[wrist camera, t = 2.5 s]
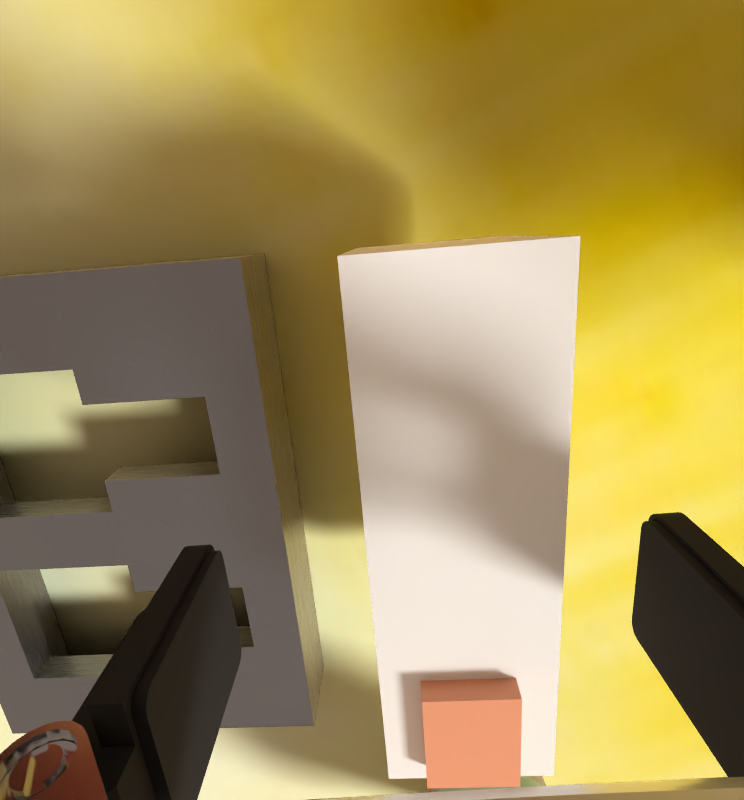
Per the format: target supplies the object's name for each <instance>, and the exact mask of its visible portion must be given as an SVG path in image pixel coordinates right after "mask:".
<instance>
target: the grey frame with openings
mask: <svg viewBox="0 0 744 800" xmlns="http://www.w3.org/2000/svg"><path fill="white" fill-rule="evenodd" d="M69 369H73V372H74V376H75V379H76V383H77V386H78V390H79V393H80V397H81V400H82V404H83V405H88V404H103V403H118V402H133V401H148V400H163V399H178V398H193V397H205V401H206V406H207V411H208V416H209V421H210V426H211V431H212V436H213V441H214V446H215V451H216V457H217V461H209V462H192V463H175V464H158V465H141V466H124V467H120V468H119V469H118V470H116V471H115V472H114V473H113V474H112V475H111V476H109V477H108V478H107V479H106V480H105V481H104V483H105V486H106V490H107V493H108V497H99V498H81V499H63V500H45V501H27V502H16V501H15V498H14V495H13V492H12V489H11V486H10V484H9V481H8V478H7V475H6V472H5V469H4V466H3V463H2V461H1V458H0V704H1V706H2V709H3V711H4V714H5V716H6V718H7V721H8V723H9V725H10V728H11V730H12V733H28V732H30V731H32V730H34V729H36V728H39V727H41V726H43V725H45V724H49V723H53V722H57V721H72V719H73V718H74V716H75V715H76V713H77V711H78V710H79V708H80V707H81V705H82V703H83V702H84V700H85V699H86V697H87V695H88V694H89V692H90V691H91V689H92V688H93V686H94V684H95V683H96V681H97V680H98V678H99V676H100V675H101V673H102V672H103V670H104V668H105V667H106V665H107V664H108V662H109V660H110V659H111V657H112V656H113V654H103V655H75V656H69V653H68V650H67V647H66V644H65V642H64V639H63V636H62V633H61V630H60V627H59V624H58V621H57V619H56V616H55V613H54V610H53V607H52V604H51V601H50V598H49V596H48V593H47V590H46V587H45V584H44V581H43V578H42V576H41V573H40V570H39V569H52V568H73V567H95V566H116V565H128V568H129V572H130V575H131V579H132V582H133V586H134V590H135V592H149V591H157V590H158V588H159V587H160V585H161V583H162V582H163V580H164V579H165V577H166V575H167V574H168V572H169V570H170V569H171V567H172V566H173V564H174V562H175V561H176V559H177V557H178V556H179V554H180V553H181V551H182V549H183V548H184V547H186V546H195V545H209V544H210V545H212V546H213V547H214V550H215V551H218V550H220V551H221V552H222V555H223V559H224V564H225V569H226V573H227V578H228V583H229V588H241V587H242V589H243V594H244V599H245V604H246V609H247V614H248V619H249V624H250V626H237V627H238V632H239V637H240V642H241V661H240V665H239V668H238V671H237V674H236V677H235V681H234V684H233V687H232V690H231V693H230V696H229V700H228V703H227V706H226V709H225V712H224V716H223V719H222V722H221V725H220V728H239V727H277V726H314V723H315V717H316V710H317V704H318V697H319V691H320V685H321V678H322V672H323V659H322V652H321V645H320V638H319V631H318V624H317V617H316V610H315V603H314V596H313V589H312V582H311V575H310V568H309V561H308V555H307V548H306V541H305V534H304V527H303V520H302V513H301V506H300V499H299V492H298V485H297V478H296V471H295V464H294V457H293V450H292V443H291V436H290V429H289V422H288V415H287V408H286V401H285V394H284V387H283V380H282V373H281V366H280V359H279V352H278V345H277V338H276V331H275V324H274V317H273V310H272V303H271V296H270V289H269V282H268V275H267V268H266V261H265V254H255V255H243V256H231V257H220V258H208V259H196V260H184V261H172V262H160V263H148V264H136V265H124V266H112V267H100V268H88V269H77V270H65V271H53V272H41V273H29V274H17V275H5V276H0V374H13V373H27V372H41V371H55V370H69Z"/></svg>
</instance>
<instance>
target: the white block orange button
mask: <svg viewBox="0 0 744 800" xmlns="http://www.w3.org/2000/svg"><path fill="white" fill-rule="evenodd" d="M579 256H580V236H523V235H506V236H494V237H482V238H470V239H458V240H446V241H434V242H422V243H410V244H398V245H386V246H374V247H362V248H356V249H353V250H351V251H348V252H346V253H344V254H341V255H339V256H337V259H338V269H339V279H340V290H341V300H342V310H343V320H344V330H345V340H346V350H347V360H348V371H349V381H350V391H351V401H352V411H353V421H354V431H355V441H356V452H357V462H358V472H359V482H360V492H361V502H362V512H363V522H364V533H365V543H366V553H367V563H368V573H369V583H370V593H371V603H372V614H373V624H374V634H375V644H376V654H377V664H378V674H379V684H380V694H381V705H382V715H383V725H384V735H385V745H386V755H387V765H388V775H389V779H407V778H427V789H428V788H481V787H520V779H521V776H554V759H555V739H556V718H557V698H558V678H559V658H560V638H561V618H562V598H563V578H564V557H565V537H566V517H567V497H568V477H569V457H570V437H571V417H572V396H573V376H574V356H575V336H576V316H577V296H578V276H579Z"/></svg>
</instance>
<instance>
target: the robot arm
mask: <svg viewBox="0 0 744 800" xmlns="http://www.w3.org/2000/svg"><path fill="white" fill-rule="evenodd" d="M632 626H633V630H634V633H635V636H636V638H637V639H638V641H639V643H640V644H641V646H642V647H643V649H644V650H645V652H646V653H647V655H648V656H649V658H650V659H651V661H652V662H653V664H654V665H655V667H656V668H657V670H658V671H659V673H660V674H661V676H662V677H663V679H664V680H665V682H666V684H667V685H668V687H669V688H670V690H671V691H672V693H673V694H674V696H675V697H676V699H677V700H678V702H679V703H680V705H681V706H682V708H683V709H684V711H685V712H686V714H687V715H688V717H689V718H690V720H691V721H692V723H693V724H694V726H695V727H696V729H697V731H698V732H699V734H700V735H701V737H702V738H703V740H704V741H705V743H706V744H707V746H708V747H709V749H710V750H711V752H712V753H713V755H714V756H715V758H716V759H717V761H718V762H719V764H720V765H721V767H722V768H723V770H724V771H725V773H726V774H727V776H728V777H723V778H701V779H680V780H659V781H638V782H617V783H596V784H575V785H556V786H537V787H518V788H499V789H481V790H463V791H445V792H426V793H408V794H391V795H375V796H358V797H342V798H325V799H309V800H744V567H743V566H742V565H741V564H740V563H739V562H737V561H736V560H735V559H734V558H733V557H732V556H731V555H730V554H728V553H727V552H726V551H725V550H724V549H723V548H722V547H721V546H719V545H718V544H717V543H716V542H715V541H714V540H713V539H712V538H710V537H709V536H708V535H707V534H706V533H705V532H704V531H702V530H701V529H700V528H699V527H698V526H697V525H696V524H695V523H693V522H692V521H691V520H690V519H689V518H688V517H687V516H686V515H684V514H683V513H679V512H677V513H662V514H653V515H651V516H650V518H649V521H645V522H643V524H642V527H641V536H640V546H639V556H638V565H637V575H636V585H635V595H634V605H633V615H632ZM240 661H241V642H240V637H239V632H238V627H237V623H236V618H235V613H234V608H233V603H232V598H231V593H230V588H229V583H228V578H227V573H226V569H225V564H224V559H223V555H222V552H221V551H220V550H218V551H215V550H214V547H213V546H212V545H210V544H209V545H195V546H186V547H184V548H183V549H182V551H181V553H180V554H179V556H178V557H177V559H176V561H175V562H174V564H173V566H172V567H171V569H170V570H169V572H168V574H167V575H166V577H165V579H164V580H163V582H162V583H161V585H160V587H159V588H158V590H157V592H156V593H155V595H154V596H153V598H152V600H151V601H150V603H149V605H148V606H147V608H146V609H145V610H144V611H142V612H141V613H140V614H139V615H138V616H137V617H136V619H135V620H134V622H133V624H132V625H131V627H130V628H129V630H128V632H127V633H126V635H125V636H124V638H123V640H122V641H121V643H120V644H119V646H118V648H117V649H116V651H115V652H114V654H113V656H112V657H111V659H110V660H109V662H108V664H107V665H106V667H105V668H104V670H103V672H102V673H101V675H100V676H99V678H98V680H97V681H96V683H95V684H94V686H93V688H92V689H91V691H90V692H89V694H88V695H87V697H86V699H85V700H84V702H83V703H82V705H81V707H80V708H79V710H78V711H77V713H76V715H75V716H74V718H73V719H72V721H57V722H53V723H49V724H45V725H43V726H41V727H39V728H36V729H34V730H32V731H30V732H28V733H27V734H25V735H24V736H22V737H21V738H19V739H18V740H16V741H15V742H13V743H12V744H11V745H10V746H9V747H8V748H7V749H5V750H4V751H3V752H2V753H1V754H0V800H197V798H198V795H199V792H200V789H201V786H202V782H203V779H204V776H205V773H206V770H207V766H208V763H209V760H210V757H211V754H212V751H213V747H214V744H215V741H216V738H217V735H218V731H219V728H220V725H221V722H222V719H223V716H224V712H225V709H226V706H227V703H228V700H229V696H230V693H231V690H232V687H233V684H234V681H235V677H236V674H237V671H238V668H239V665H240Z"/></svg>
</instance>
